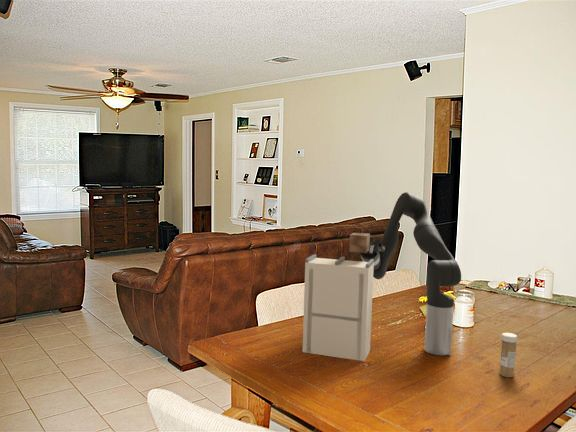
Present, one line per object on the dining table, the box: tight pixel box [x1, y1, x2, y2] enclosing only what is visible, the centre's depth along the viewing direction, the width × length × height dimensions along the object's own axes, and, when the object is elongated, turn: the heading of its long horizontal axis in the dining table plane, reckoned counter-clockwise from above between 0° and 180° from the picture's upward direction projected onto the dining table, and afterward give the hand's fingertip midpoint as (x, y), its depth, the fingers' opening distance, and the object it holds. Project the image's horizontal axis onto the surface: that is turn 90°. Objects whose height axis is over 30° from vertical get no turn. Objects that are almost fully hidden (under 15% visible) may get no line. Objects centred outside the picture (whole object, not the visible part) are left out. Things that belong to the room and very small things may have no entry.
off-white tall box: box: [302, 253, 374, 362], centre depth 180 cm, size 22×11×33 cm, turn 72°
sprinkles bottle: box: [498, 332, 518, 378], centre depth 164 cm, size 5×5×14 cm
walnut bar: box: [348, 232, 373, 254], centre depth 191 cm, size 6×22×6 cm, turn 162°
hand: (364, 238), depth 194 cm, fingers closed on walnut bar, 3 cm apart
